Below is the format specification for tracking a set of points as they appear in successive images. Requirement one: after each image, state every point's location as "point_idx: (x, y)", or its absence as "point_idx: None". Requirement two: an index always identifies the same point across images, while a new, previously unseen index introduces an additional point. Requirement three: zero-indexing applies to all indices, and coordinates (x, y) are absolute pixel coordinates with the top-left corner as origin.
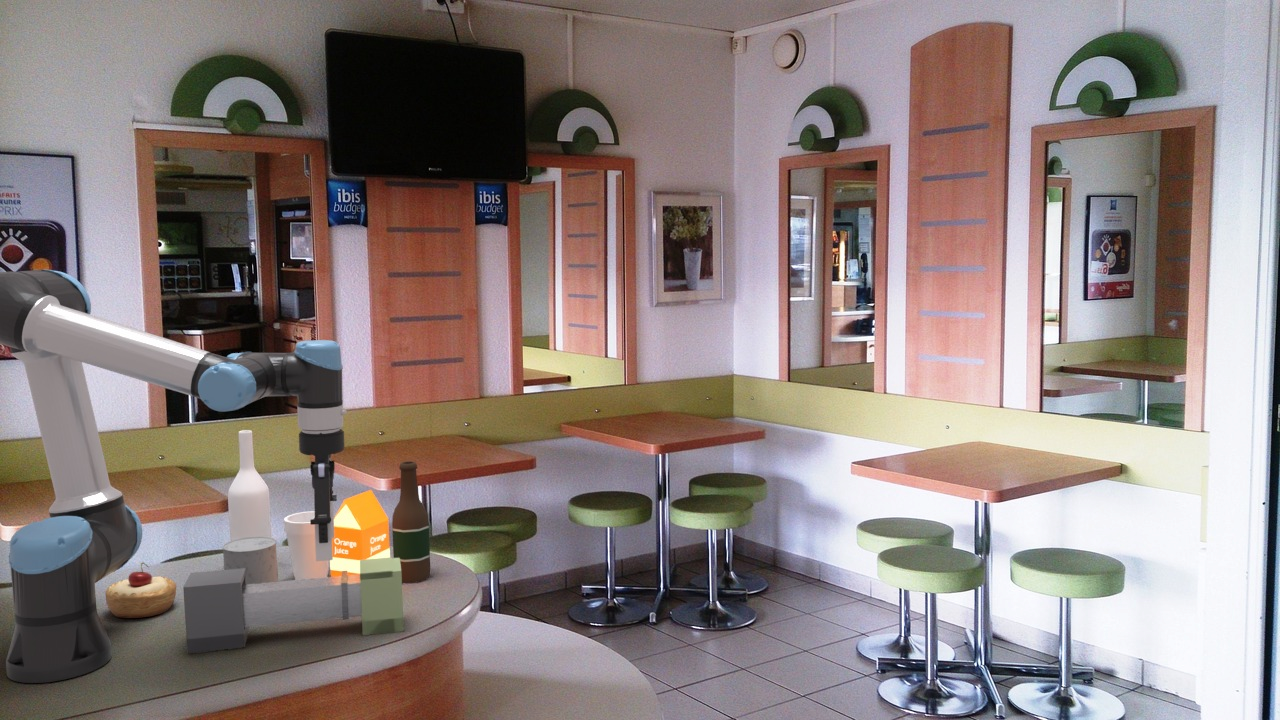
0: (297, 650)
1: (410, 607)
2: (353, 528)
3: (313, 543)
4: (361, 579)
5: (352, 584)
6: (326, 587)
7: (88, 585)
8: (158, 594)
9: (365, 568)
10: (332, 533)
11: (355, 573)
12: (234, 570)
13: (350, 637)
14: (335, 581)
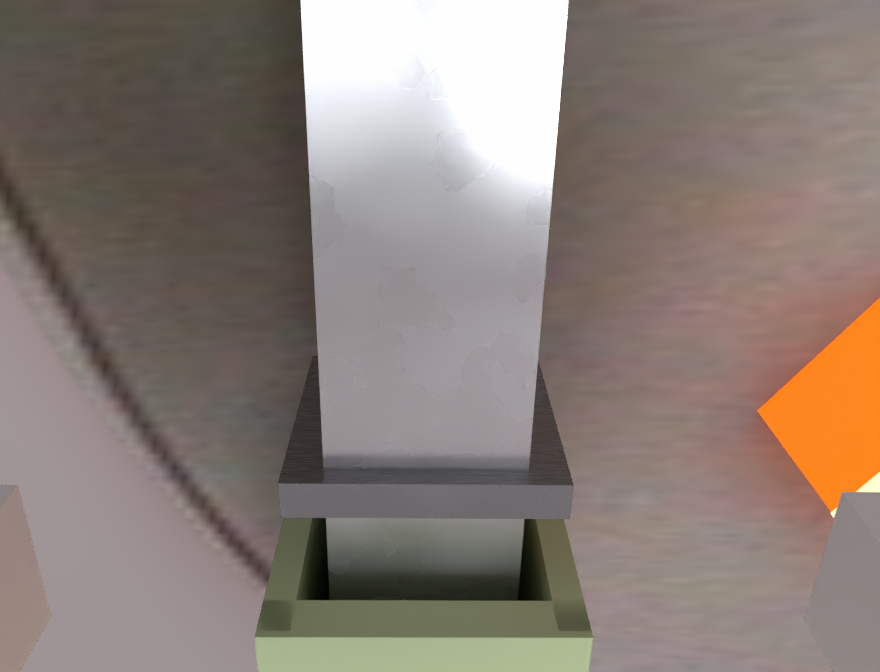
0: (174, 89)
1: (617, 584)
2: None
3: None
4: (262, 608)
5: (326, 526)
6: (320, 372)
7: None
8: None
9: (366, 665)
10: (831, 647)
11: (877, 472)
12: None
13: (303, 346)
14: (411, 433)
